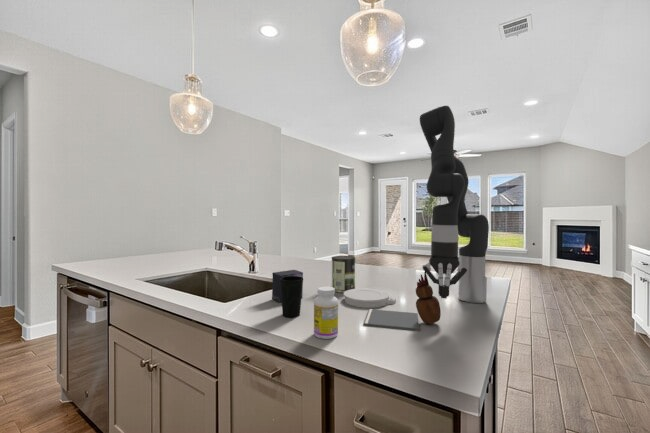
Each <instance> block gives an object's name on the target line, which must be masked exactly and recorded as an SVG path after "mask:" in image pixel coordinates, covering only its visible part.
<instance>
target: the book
mask: <svg viewBox="0 0 650 433" xmlns="http://www.w3.org/2000/svg"><path fill="white" fill-rule="evenodd" d="M418 315H419V314H418V312H408V311H398V310H397V311H396V310H384V309H375V308H374V309H373V308H368V310H367V312H366V315H365V318H364V321H363V323H362V324H363V326H367V327H376V328H377V327H378V328H386V327H387V328H388V329H399V330H409V331H418V332H419V331H420V322H419V316H418Z"/></svg>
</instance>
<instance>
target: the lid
mask: <svg viewBox="0 0 650 433" xmlns="http://www.w3.org/2000/svg"><path fill="white" fill-rule="evenodd" d="M343 298H344V302H345V304H348V305H350V306H353V307H359V308H365V309H366V308H367V309H373V308H374V309H375V308H380V307H381V308H382V307H383V306H387V305H395V304H396V303H397V299H396V297H395V296H393V295H391V294H389V293H388V292H386V291H383V290H381V289H374V288H367V287H365V288H363V287H362V288H360V287H359V288H355V289H350V290H347V291H345V292H343Z"/></svg>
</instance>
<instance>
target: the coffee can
mask: <svg viewBox="0 0 650 433" xmlns="http://www.w3.org/2000/svg"><path fill="white" fill-rule="evenodd" d="M355 276H356V257H355V256H351V255H335V256H331V287H333V288H334V289H335V293H344V292H345V291H347V290H350V289H356V277H355Z"/></svg>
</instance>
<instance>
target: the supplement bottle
mask: <svg viewBox="0 0 650 433" xmlns="http://www.w3.org/2000/svg"><path fill="white" fill-rule="evenodd" d="M335 293H336V292H335V289H334V288H333V287H332V286H320V287H318V288H317V295H318V296H317V297H315V299H314V301H313V334H314V336H315V337H316V338H318V339H321V340H329V339H330V340H331V339H334V338H336V337H337V336H338V334H339V300H338V298H337V297H336V296H335Z"/></svg>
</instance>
